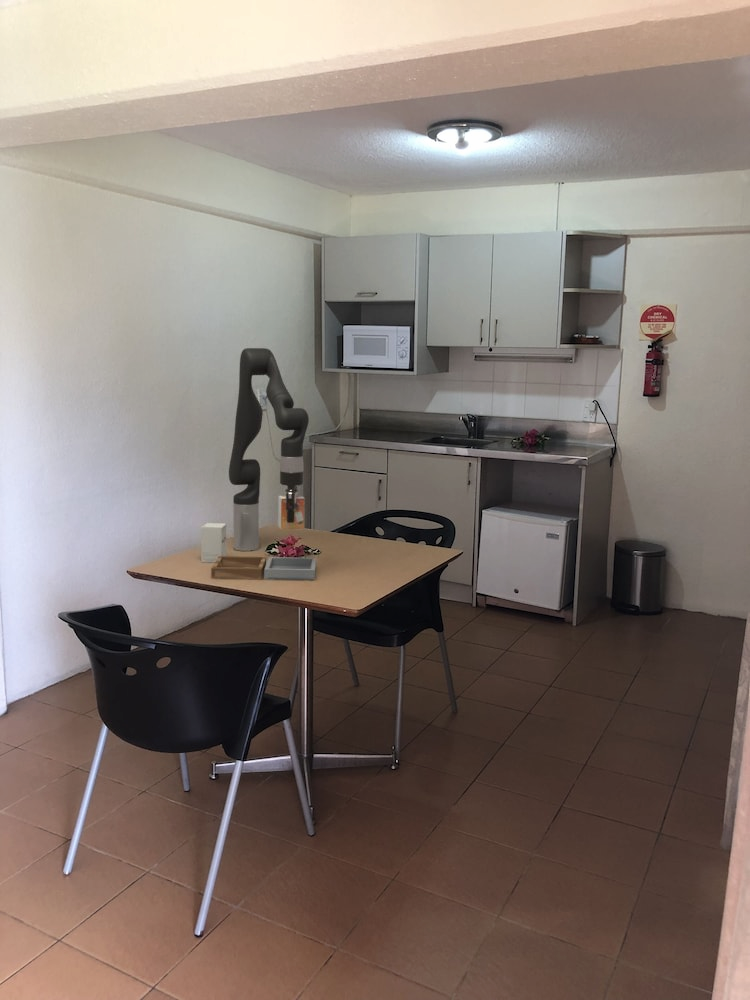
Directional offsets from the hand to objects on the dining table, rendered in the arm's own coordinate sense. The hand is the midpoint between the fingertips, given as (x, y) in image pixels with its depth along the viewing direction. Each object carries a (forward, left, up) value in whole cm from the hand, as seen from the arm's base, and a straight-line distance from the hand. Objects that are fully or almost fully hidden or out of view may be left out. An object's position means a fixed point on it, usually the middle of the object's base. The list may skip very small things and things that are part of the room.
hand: (291, 520), depth 271 cm
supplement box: (-16, -28, -18) cm, 37 cm away
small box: (0, 0, -3) cm, 3 cm away
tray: (0, 0, -18) cm, 18 cm away
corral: (0, -17, -18) cm, 25 cm away
